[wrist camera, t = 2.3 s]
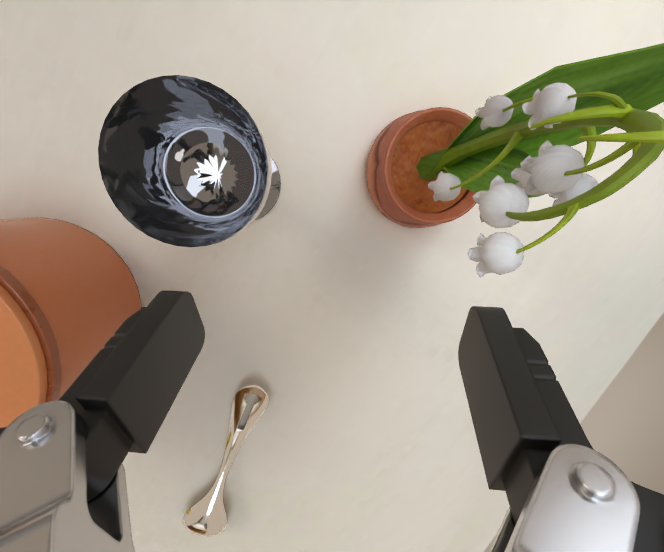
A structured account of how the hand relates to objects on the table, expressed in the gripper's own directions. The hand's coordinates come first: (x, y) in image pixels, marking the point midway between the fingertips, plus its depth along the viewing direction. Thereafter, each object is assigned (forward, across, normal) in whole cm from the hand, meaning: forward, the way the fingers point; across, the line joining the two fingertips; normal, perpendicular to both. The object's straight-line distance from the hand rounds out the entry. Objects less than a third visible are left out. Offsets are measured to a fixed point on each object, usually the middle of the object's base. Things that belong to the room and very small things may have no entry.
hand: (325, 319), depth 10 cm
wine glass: (+22, +11, +5) cm, 25 cm away
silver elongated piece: (+9, +13, +31) cm, 35 cm away
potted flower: (+25, -5, +5) cm, 26 cm away
